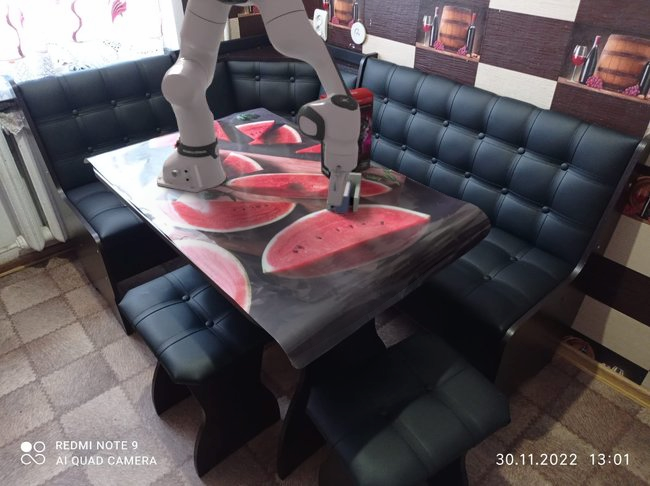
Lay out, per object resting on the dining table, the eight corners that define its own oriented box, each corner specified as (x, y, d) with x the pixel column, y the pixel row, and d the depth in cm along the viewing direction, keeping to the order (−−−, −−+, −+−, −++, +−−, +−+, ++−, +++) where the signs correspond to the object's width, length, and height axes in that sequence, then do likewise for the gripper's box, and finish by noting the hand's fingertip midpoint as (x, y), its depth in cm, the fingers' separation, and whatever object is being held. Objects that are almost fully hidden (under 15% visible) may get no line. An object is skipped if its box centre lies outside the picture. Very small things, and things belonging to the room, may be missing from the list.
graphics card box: (328, 180, 163) (330, 101, 147) (318, 172, 168) (319, 94, 152) (370, 169, 170) (376, 92, 154) (359, 161, 175) (364, 86, 159)
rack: (326, 209, 148) (326, 186, 143) (330, 193, 156) (331, 171, 151) (357, 212, 147) (358, 189, 142) (359, 195, 155) (361, 173, 150)
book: (334, 212, 146) (335, 195, 143) (338, 196, 155) (338, 179, 151) (347, 213, 146) (348, 196, 143) (350, 197, 154) (351, 180, 151)
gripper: (348, 177, 120) (344, 224, 128) (356, 144, 136) (353, 186, 144) (322, 175, 120) (321, 221, 128) (334, 141, 137) (332, 184, 145)
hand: (338, 202), depth 136 cm, fingers closed
